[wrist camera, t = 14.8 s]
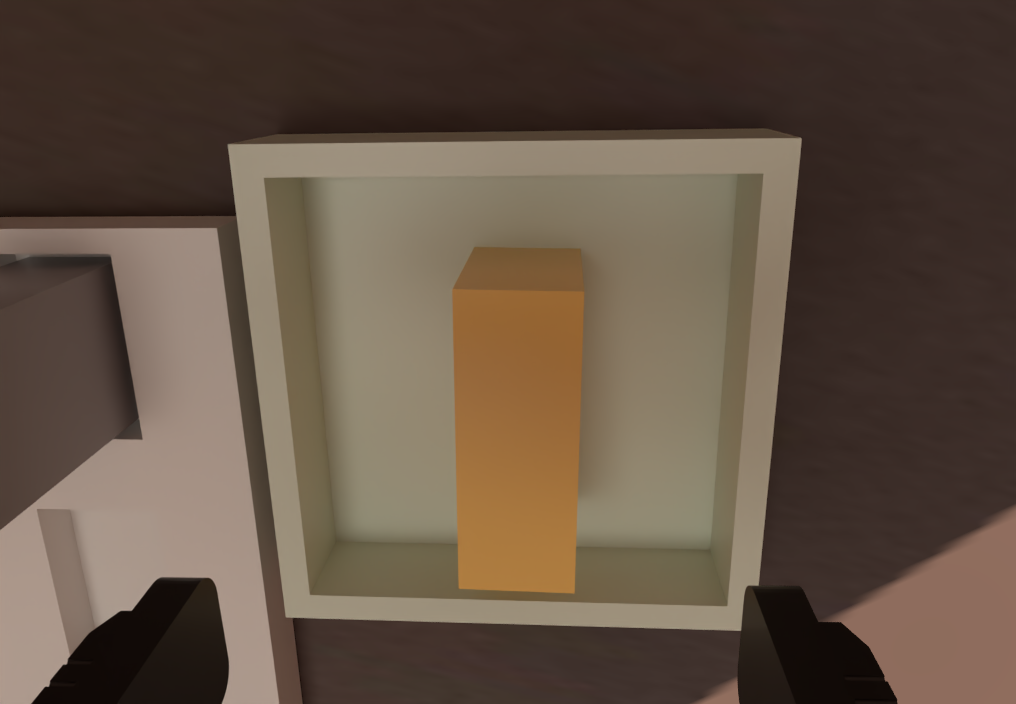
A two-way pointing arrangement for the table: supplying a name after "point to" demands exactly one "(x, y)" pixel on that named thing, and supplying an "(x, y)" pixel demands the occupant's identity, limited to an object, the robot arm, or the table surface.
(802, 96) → the table surface
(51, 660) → the fuse holder
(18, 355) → the block
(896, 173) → the table surface
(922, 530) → the table surface
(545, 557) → the block
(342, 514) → the parts tray
